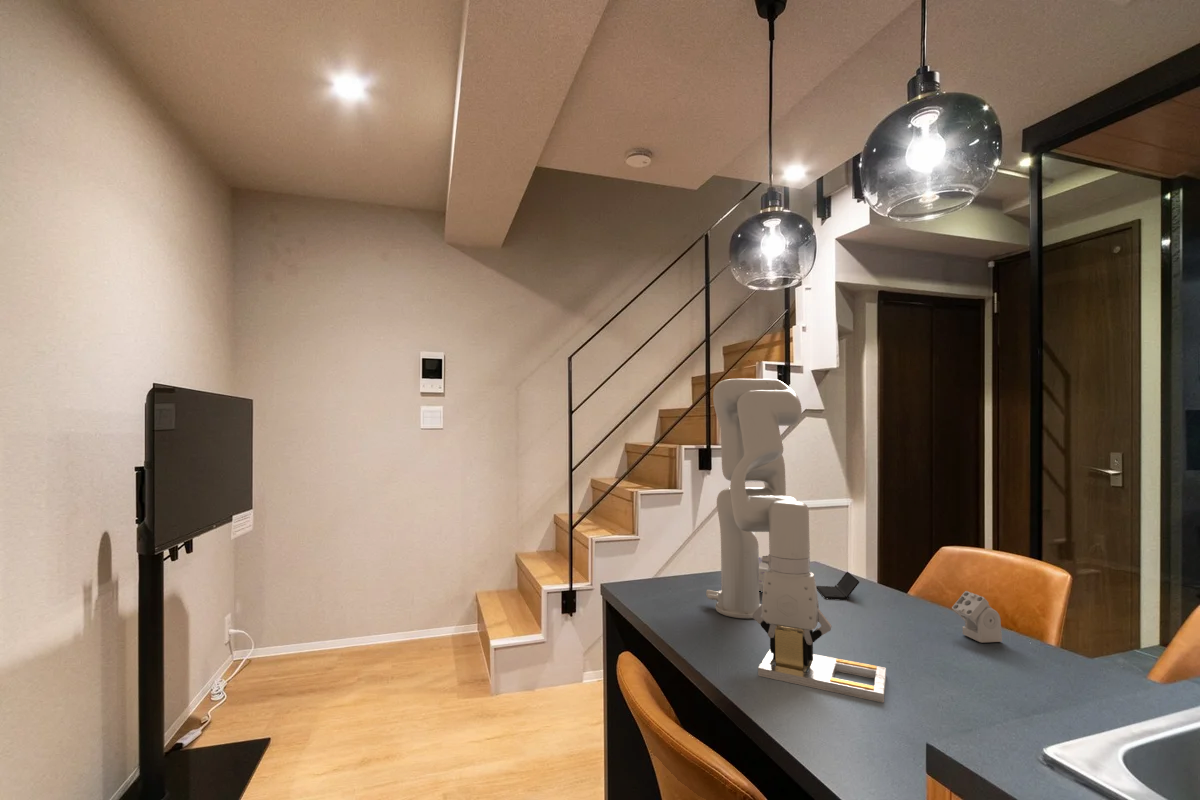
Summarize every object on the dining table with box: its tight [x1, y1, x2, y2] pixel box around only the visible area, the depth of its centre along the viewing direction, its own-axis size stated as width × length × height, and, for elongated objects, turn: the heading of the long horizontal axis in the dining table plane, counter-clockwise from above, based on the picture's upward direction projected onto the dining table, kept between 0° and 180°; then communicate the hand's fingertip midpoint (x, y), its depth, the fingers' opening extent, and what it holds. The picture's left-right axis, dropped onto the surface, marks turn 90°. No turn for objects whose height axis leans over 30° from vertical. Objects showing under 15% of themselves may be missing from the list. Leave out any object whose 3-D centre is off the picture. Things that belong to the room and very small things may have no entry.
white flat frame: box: [757, 649, 887, 704], centre depth 102 cm, size 21×12×2 cm, turn 61°
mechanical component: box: [951, 590, 1003, 643], centre depth 121 cm, size 5×8×10 cm
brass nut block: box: [775, 625, 809, 672], centre depth 105 cm, size 5×5×8 cm
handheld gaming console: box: [816, 571, 860, 601], centre depth 155 cm, size 12×7×10 cm
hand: (791, 659), depth 105 cm, fingers closed on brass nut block, 5 cm apart
